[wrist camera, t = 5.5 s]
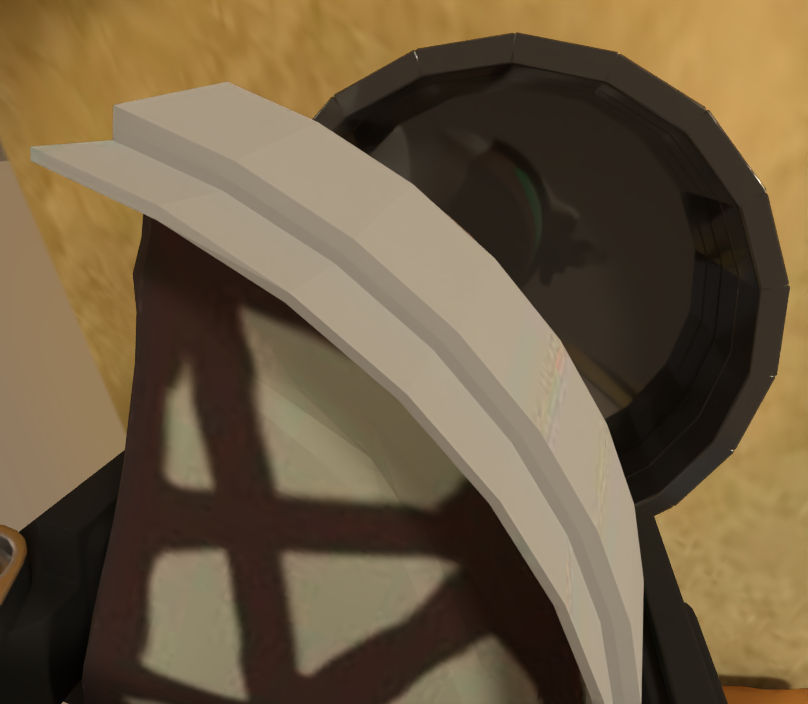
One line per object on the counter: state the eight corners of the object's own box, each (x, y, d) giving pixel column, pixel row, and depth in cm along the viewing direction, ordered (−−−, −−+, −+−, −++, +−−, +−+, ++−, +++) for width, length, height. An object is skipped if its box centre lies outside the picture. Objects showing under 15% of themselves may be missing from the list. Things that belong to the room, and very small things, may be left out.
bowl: (266, 428, 27) (225, 472, 23) (313, 12, 20) (263, -18, 16) (630, 543, 25) (647, 611, 21) (841, 118, 17) (923, 111, 14)
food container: (473, 590, 17) (413, 1140, 7) (292, 517, 17) (28, 954, 8) (671, 208, 11) (1252, 475, 2) (406, 116, 12) (27, 42, 3)
